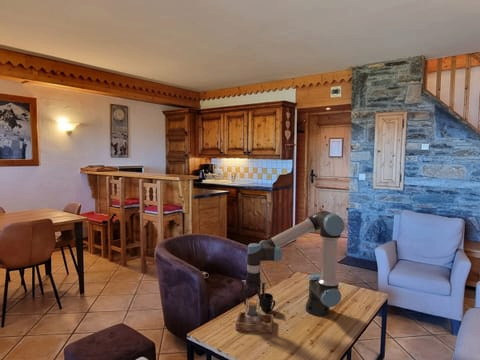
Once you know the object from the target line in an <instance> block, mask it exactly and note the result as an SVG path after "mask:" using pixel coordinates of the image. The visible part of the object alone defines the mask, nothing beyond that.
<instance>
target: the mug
mask: <svg viewBox="0 0 480 360" xmlns="http://www.w3.org/2000/svg"><path fill="white" fill-rule="evenodd" d="M260 294H261V297H262V293H260ZM275 306H276V300H274V296H273V294H271V293H270V292H265V300H262V305H261V306H260V309H261V312H263V313H271V312H272V311H273V309H274V308H275Z"/></svg>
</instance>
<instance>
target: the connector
mask: <svg viewBox="0 0 480 360" xmlns="http://www.w3.org/2000/svg"><path fill="white" fill-rule="evenodd" d="M248 310H249V316H256V311H258V300H255V299H249V300H248Z"/></svg>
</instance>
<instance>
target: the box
mask: <svg viewBox="0 0 480 360" xmlns="http://www.w3.org/2000/svg"><path fill="white" fill-rule="evenodd" d="M273 323H274V314H267V313H261V310H260V311H259V312H258V310H257V311H256V316H249V309H248V310H247V311H246V310H245V311H239V313H238V316H237V318H236V322H235V331H240V332H241V331H242V332H249V333H260V334H268V335H272V333H273V327H274V326H273Z"/></svg>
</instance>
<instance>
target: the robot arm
mask: <svg viewBox="0 0 480 360" xmlns="http://www.w3.org/2000/svg"><path fill="white" fill-rule="evenodd" d="M305 218H306V219H305V220H304V221H302V222H299V223H298V224H295V225H294V226H292V227H290V228H288V229H287V230H284V231H282V232H280V233H279V234H276V235H275V236H273V237H271V238H269V239H267V240H266V239H263V240H260V241H259V243H255V242H253V243H252V242H251V243H249V244H248V245H247V260H246V262H247V263H246V270H247V271H246V279H245V280H244V279H242V280H241V282H240V283H241V292H240V293H241V294H240V298H241V299H243V305H245V312H246V311H247V310H249V298H248V295H249V291H250V289H252V288H254V289H255V290H256V293H257V297H258V299H257V311H258V312H259V311H260V312H261V310H260V309H261V305H262V300H265V293H266V290H265V288H266V287H265V286H266V281H262V280H261V262H270V261H272V262H277V261H280V260H282V258H283V252H282V247H283V246H286V245H288V244H289V243H291V242H294V241H296V240H298V239H299V238H302V237H303V236H305V235H308V234H309V233H311V232H313V233H315V232H316V231H319V236H320V237H321V239H322V240H321V244H322V245H321V267H320V269H321V271H320V273H312V274H310V275H309V278H308V298H307V301H306V303H305V307H304V308H305V311H306V312H307V313H308V314H310V315H314V316H318V317H322V316H323V317H324V316H328V315H330V313H331V308H334V307H336V306H337V305H338V304H340V302H341V300H342V294H341V291H340V290H339V281H338V280H337V267H338V266H337V263H338V261H337V260H338V242H339V241H338V240H340V239H341V235H342V233H343V232H344V229H345V222H344V220H343V218H342V217H341V216H340V215H338V214H336V213H333V212H330V211H328V210H320V211H317V212H316V213H313V214H311V215H309V216H308V217H305ZM246 284H247V290H246V292H245V286H246ZM259 286H261V291H260V287H259ZM261 294H262V297H261Z"/></svg>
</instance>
